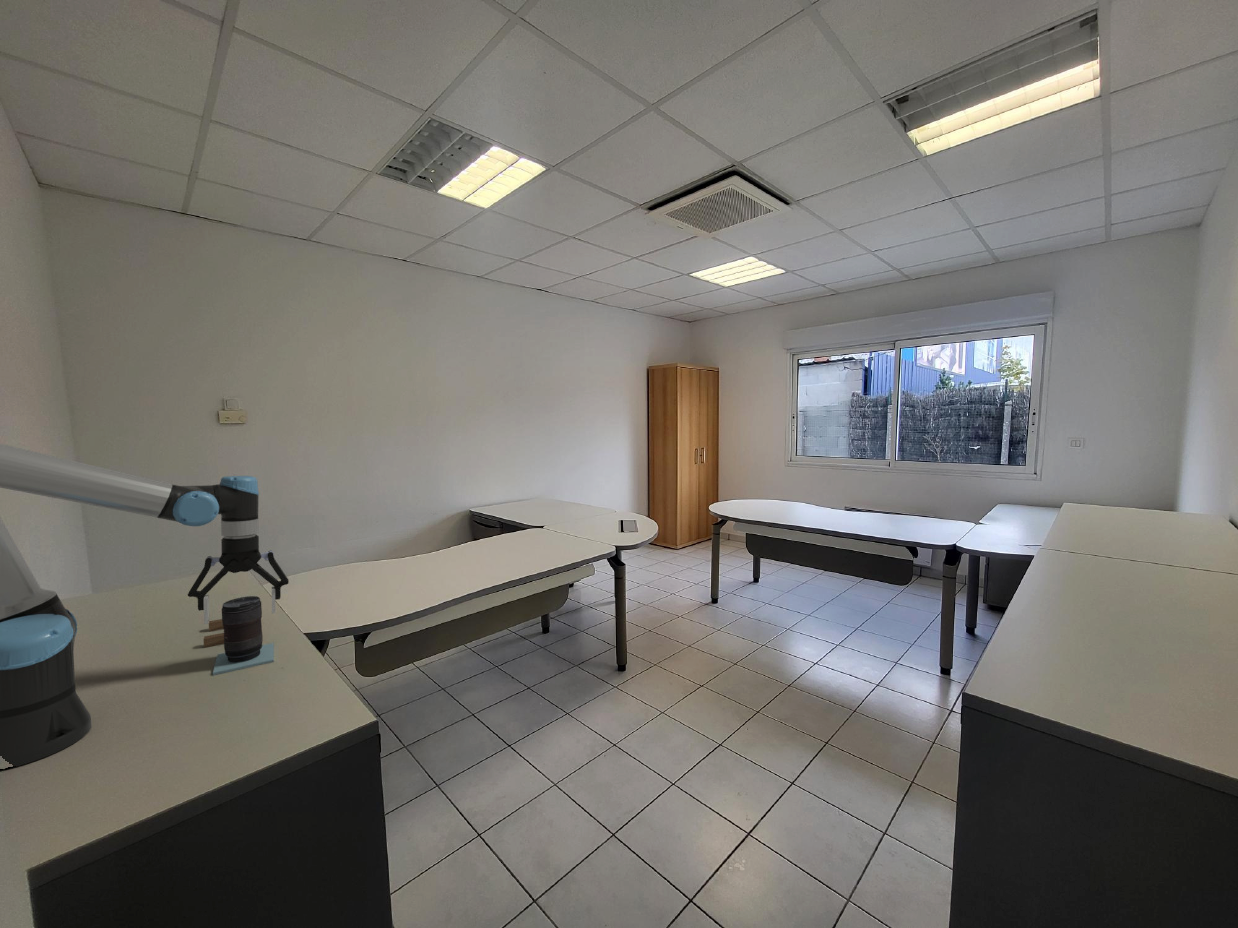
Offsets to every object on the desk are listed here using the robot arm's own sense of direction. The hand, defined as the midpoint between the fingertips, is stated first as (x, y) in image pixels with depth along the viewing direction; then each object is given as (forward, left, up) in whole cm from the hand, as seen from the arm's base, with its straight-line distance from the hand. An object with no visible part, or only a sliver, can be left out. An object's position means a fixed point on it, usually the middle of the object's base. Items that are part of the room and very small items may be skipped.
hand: (241, 616), depth 123 cm
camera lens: (0, 0, -11) cm, 11 cm away
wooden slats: (+22, +4, -12) cm, 25 cm away
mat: (0, 0, -12) cm, 12 cm away
